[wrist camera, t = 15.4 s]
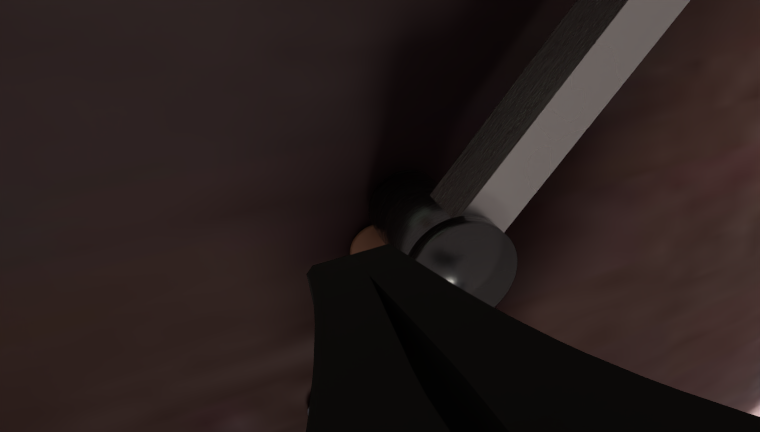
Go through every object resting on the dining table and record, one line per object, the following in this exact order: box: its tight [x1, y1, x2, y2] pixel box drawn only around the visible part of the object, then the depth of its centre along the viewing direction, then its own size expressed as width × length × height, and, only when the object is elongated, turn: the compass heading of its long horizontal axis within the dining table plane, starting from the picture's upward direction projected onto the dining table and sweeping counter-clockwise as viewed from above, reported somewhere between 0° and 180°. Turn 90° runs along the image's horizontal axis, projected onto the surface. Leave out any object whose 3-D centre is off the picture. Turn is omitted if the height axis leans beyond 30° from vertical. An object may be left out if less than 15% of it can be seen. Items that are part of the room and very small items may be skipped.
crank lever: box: [369, 0, 690, 307], centre depth 15 cm, size 18×3×5 cm, turn 142°
